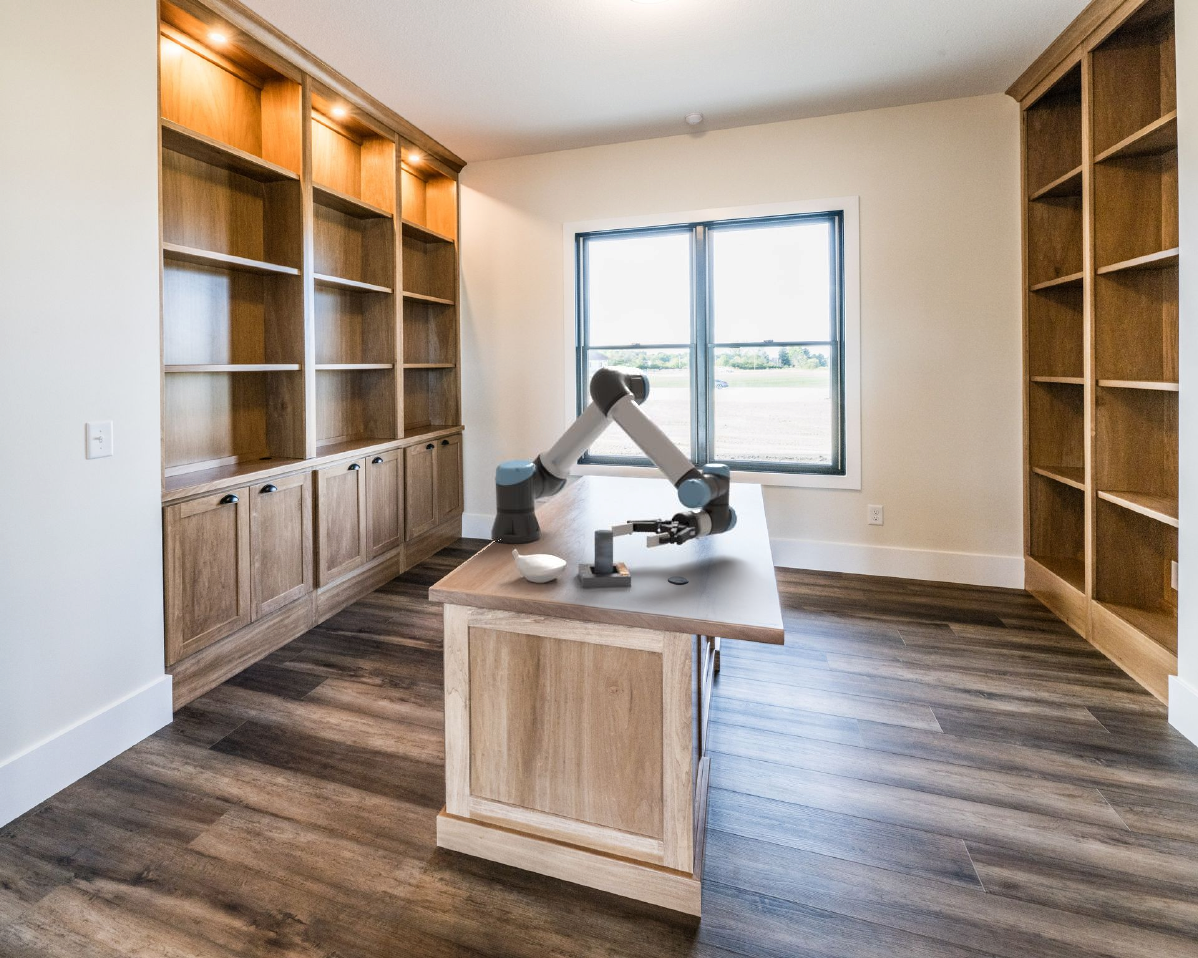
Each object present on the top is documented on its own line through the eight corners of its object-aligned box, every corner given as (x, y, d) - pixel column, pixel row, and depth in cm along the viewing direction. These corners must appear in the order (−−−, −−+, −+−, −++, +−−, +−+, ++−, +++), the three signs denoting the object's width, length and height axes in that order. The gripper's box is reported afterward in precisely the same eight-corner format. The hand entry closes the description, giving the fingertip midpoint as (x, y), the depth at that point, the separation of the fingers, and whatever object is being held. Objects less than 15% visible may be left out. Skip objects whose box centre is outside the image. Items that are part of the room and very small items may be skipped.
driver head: (522, 540, 164) (555, 528, 157) (543, 575, 166) (577, 565, 159) (498, 562, 156) (531, 551, 148) (520, 598, 158) (554, 589, 150)
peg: (590, 579, 158) (590, 531, 156) (605, 575, 161) (605, 528, 159) (602, 583, 155) (602, 534, 153) (616, 580, 158) (616, 532, 156)
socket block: (582, 588, 151) (582, 577, 151) (578, 573, 163) (578, 563, 162) (631, 586, 153) (631, 575, 152) (623, 572, 164) (623, 561, 164)
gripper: (724, 548, 164) (663, 562, 152) (658, 530, 184) (599, 541, 171) (725, 519, 163) (664, 531, 151) (658, 504, 183) (599, 513, 170)
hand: (629, 536), depth 161 cm, fingers open, 13 cm apart
